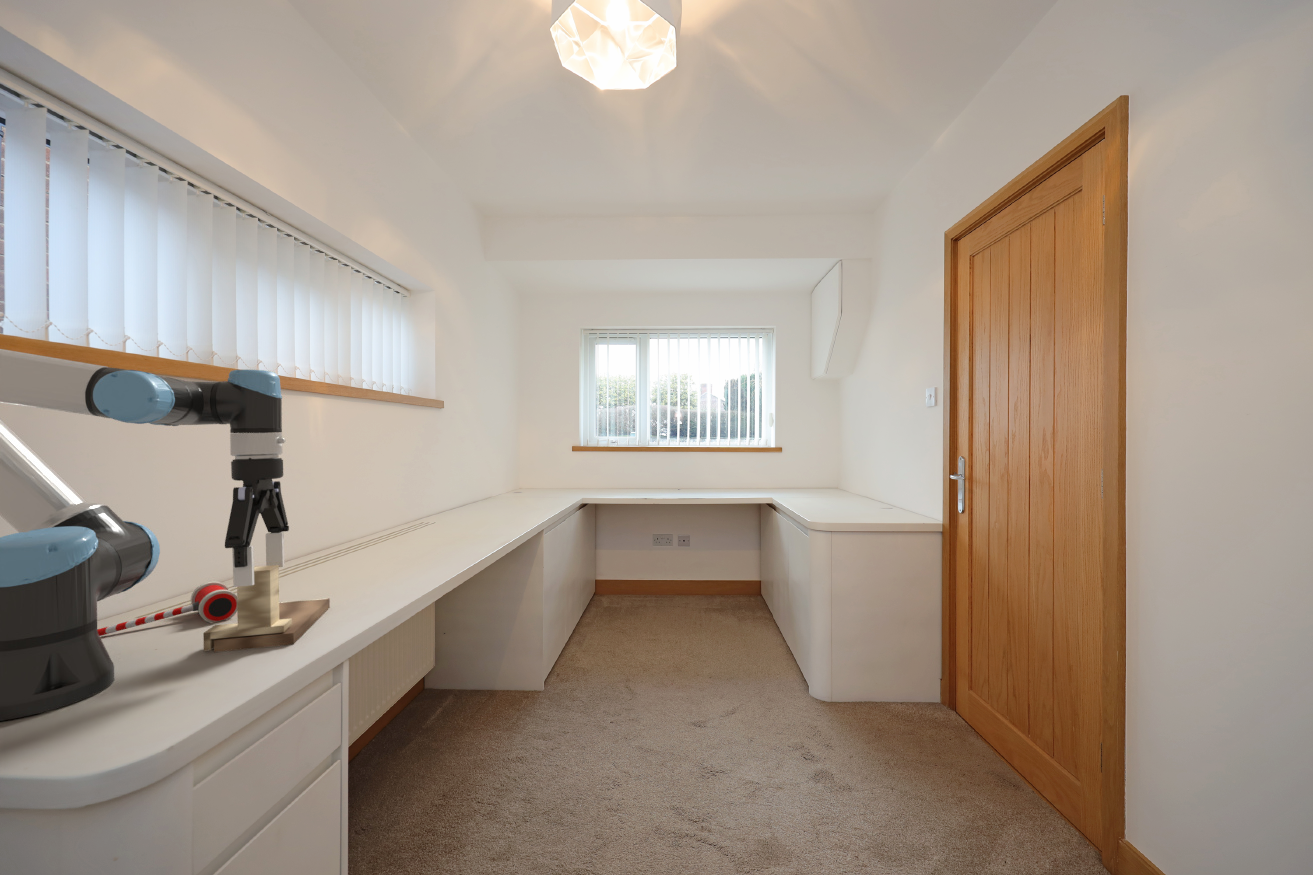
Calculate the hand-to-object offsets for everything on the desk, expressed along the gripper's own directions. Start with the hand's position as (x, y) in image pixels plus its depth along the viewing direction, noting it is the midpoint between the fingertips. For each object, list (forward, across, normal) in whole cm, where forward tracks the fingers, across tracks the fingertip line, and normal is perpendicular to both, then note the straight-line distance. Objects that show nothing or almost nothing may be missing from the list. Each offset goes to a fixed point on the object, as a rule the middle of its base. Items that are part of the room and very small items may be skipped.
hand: (260, 575), depth 98 cm
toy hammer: (+12, +19, +21) cm, 31 cm away
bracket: (+12, 0, +2) cm, 12 cm away
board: (+12, +9, 0) cm, 15 cm away
